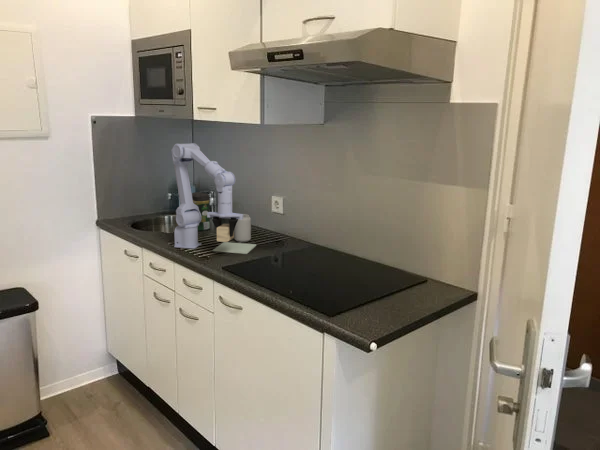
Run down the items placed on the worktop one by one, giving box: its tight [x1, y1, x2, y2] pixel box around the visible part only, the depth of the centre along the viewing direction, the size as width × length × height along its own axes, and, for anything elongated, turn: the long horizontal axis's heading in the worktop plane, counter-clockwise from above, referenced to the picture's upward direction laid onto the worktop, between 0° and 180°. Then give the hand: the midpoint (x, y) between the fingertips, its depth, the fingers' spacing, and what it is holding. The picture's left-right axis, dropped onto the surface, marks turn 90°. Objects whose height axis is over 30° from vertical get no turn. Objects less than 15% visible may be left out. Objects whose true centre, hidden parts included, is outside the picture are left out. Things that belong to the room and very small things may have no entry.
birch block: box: [216, 223, 234, 243], centre depth 195 cm, size 8×4×6 cm, turn 169°
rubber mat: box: [212, 241, 257, 255], centre depth 209 cm, size 15×14×1 cm
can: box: [233, 213, 252, 243], centre depth 221 cm, size 8×8×12 cm
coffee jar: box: [191, 191, 211, 232], centre depth 241 cm, size 10×8×19 cm
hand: (225, 235), depth 196 cm, fingers closed on birch block, 4 cm apart
